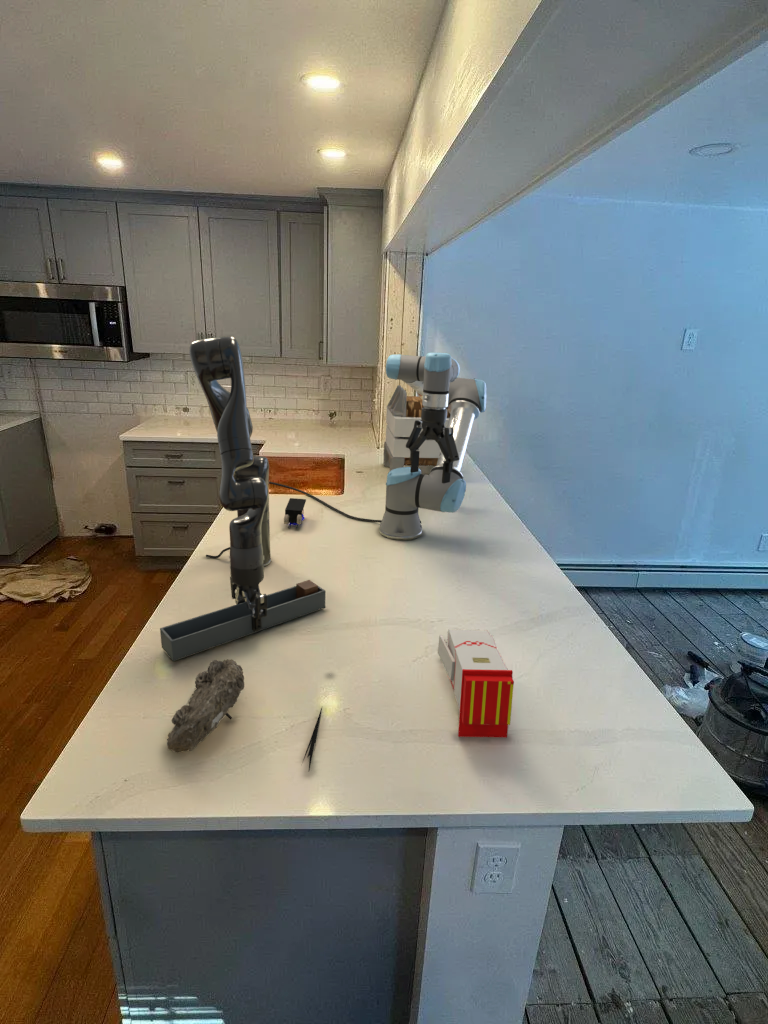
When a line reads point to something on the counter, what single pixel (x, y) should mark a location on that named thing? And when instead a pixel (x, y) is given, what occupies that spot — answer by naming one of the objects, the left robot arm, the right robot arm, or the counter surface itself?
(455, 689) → the toy
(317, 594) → the trough
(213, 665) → the fossil
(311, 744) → the feather
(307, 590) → the walnut block
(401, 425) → the white crate
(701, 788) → the counter surface
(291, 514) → the figurine character
